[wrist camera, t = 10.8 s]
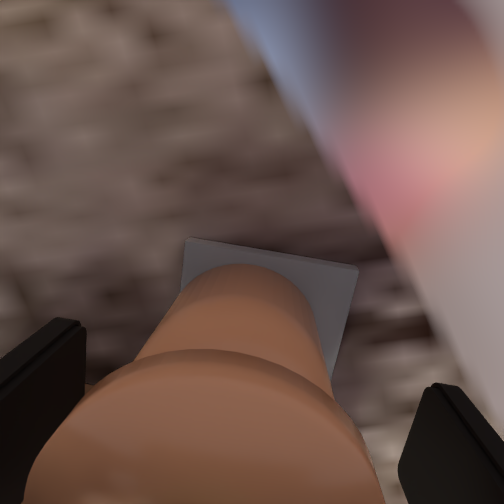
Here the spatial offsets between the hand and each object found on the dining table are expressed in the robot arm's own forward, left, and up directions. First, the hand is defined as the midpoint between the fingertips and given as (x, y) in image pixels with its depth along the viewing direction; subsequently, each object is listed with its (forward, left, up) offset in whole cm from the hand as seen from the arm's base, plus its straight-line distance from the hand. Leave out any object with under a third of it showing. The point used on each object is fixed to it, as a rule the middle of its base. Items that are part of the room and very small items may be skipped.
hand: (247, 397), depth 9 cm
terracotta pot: (0, 0, -3) cm, 3 cm away
